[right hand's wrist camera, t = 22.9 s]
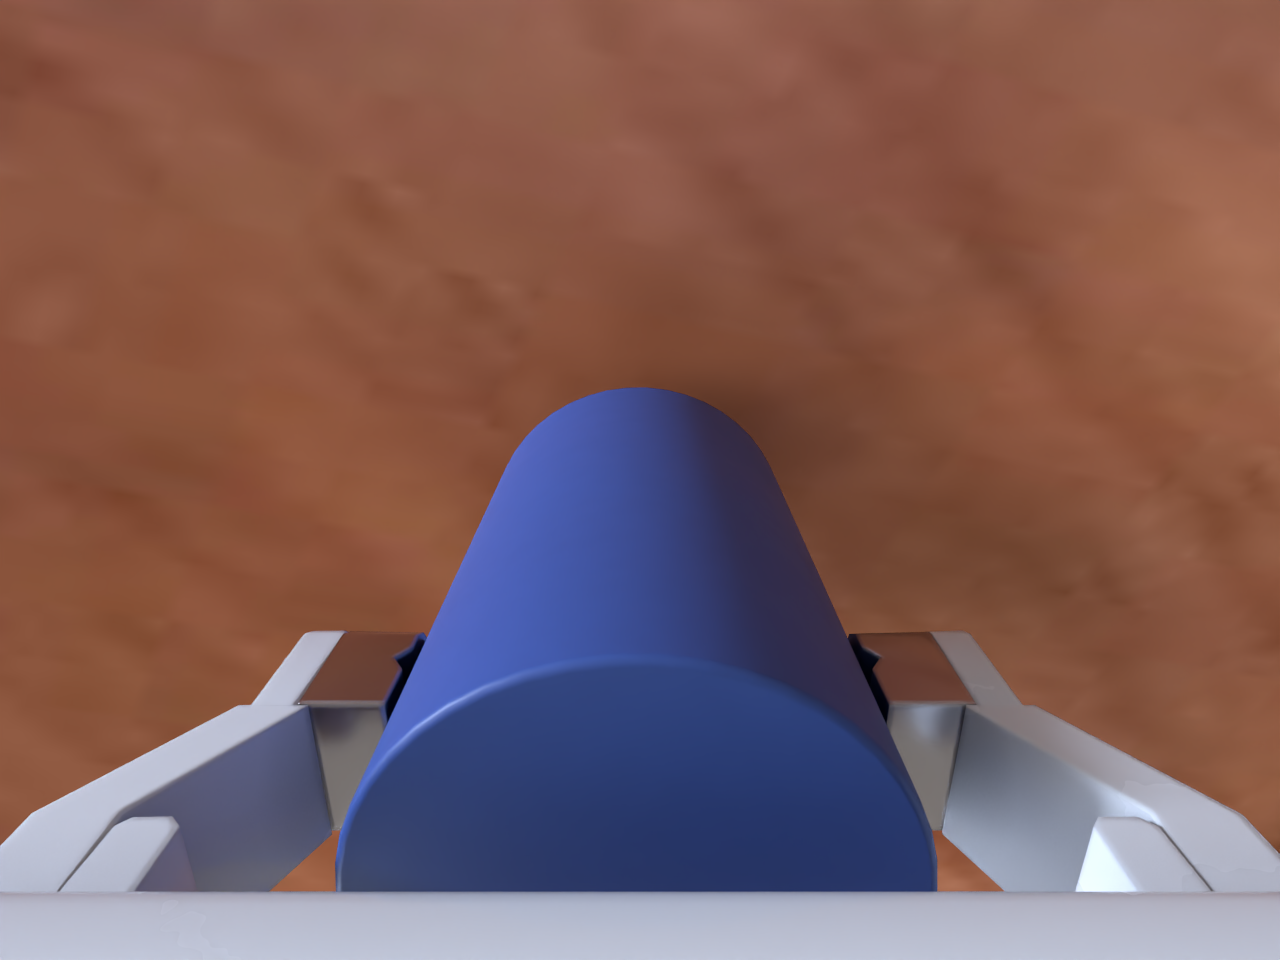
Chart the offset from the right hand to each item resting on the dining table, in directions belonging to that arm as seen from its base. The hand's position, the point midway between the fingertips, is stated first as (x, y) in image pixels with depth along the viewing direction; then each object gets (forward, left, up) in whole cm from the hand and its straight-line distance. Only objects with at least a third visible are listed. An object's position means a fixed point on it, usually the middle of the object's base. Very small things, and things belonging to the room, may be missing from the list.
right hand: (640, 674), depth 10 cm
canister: (0, 0, -5) cm, 5 cm away
